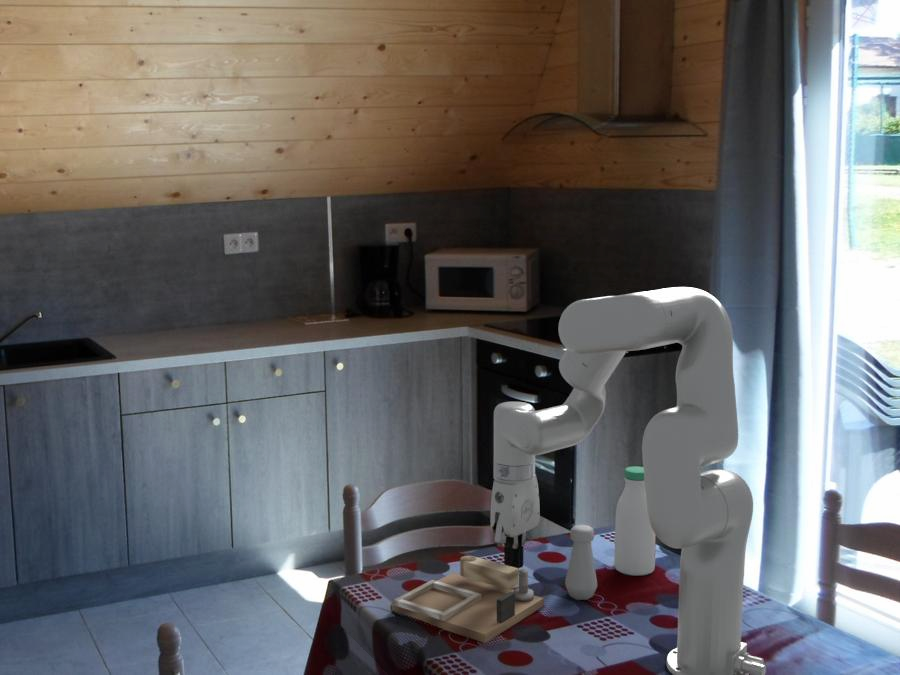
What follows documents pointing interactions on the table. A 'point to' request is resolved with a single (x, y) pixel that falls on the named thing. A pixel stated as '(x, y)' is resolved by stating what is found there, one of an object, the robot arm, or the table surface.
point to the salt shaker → (581, 564)
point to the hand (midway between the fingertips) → (513, 565)
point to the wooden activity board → (469, 605)
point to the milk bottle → (634, 528)
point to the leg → (489, 572)
